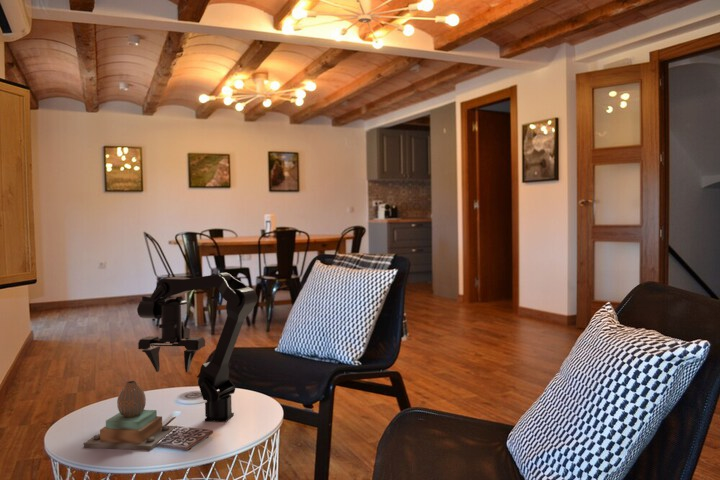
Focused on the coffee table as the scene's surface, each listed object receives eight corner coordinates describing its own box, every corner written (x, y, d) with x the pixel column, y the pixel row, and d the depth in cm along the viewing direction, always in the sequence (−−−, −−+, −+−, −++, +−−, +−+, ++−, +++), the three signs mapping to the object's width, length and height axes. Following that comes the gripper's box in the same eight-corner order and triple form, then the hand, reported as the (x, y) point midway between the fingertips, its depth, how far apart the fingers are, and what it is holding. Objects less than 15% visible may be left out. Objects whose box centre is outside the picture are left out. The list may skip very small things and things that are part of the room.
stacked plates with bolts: (177, 429, 152) (176, 407, 152) (151, 449, 138) (150, 425, 138) (115, 427, 154) (114, 405, 154) (83, 447, 140) (83, 423, 140)
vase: (150, 411, 149) (149, 378, 149) (138, 419, 142) (137, 385, 142) (125, 410, 150) (125, 378, 150) (112, 419, 143) (111, 385, 143)
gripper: (212, 315, 173) (213, 365, 173) (155, 315, 175) (156, 364, 176) (196, 321, 162) (197, 375, 162) (136, 321, 164) (137, 374, 165)
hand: (172, 371), depth 167 cm, fingers open, 9 cm apart
